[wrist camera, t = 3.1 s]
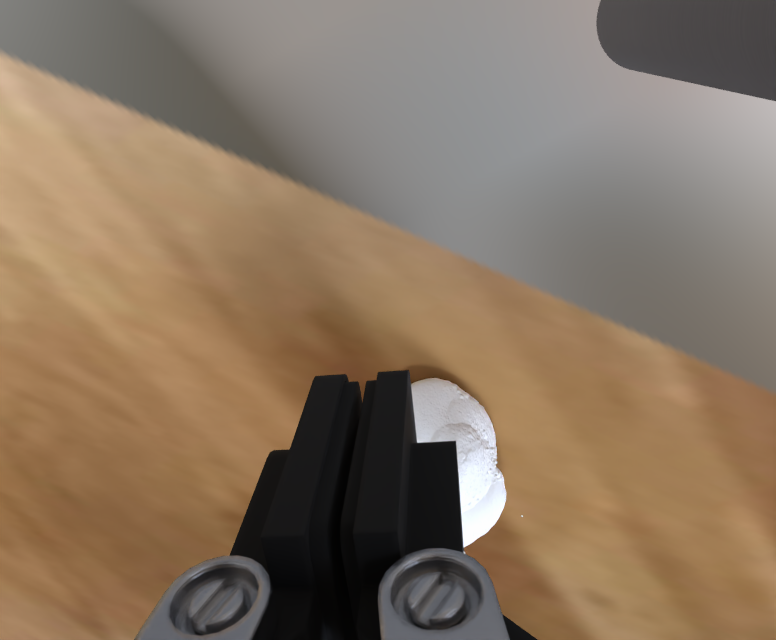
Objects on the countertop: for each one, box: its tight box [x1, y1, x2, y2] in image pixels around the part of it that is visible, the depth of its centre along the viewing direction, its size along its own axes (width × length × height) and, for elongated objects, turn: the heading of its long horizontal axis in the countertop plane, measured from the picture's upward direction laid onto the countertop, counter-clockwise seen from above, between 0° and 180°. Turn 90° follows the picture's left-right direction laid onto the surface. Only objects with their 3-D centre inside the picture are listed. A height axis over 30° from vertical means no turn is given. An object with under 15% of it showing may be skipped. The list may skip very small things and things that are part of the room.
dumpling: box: [411, 378, 523, 554], centre depth 23 cm, size 7×5×4 cm
